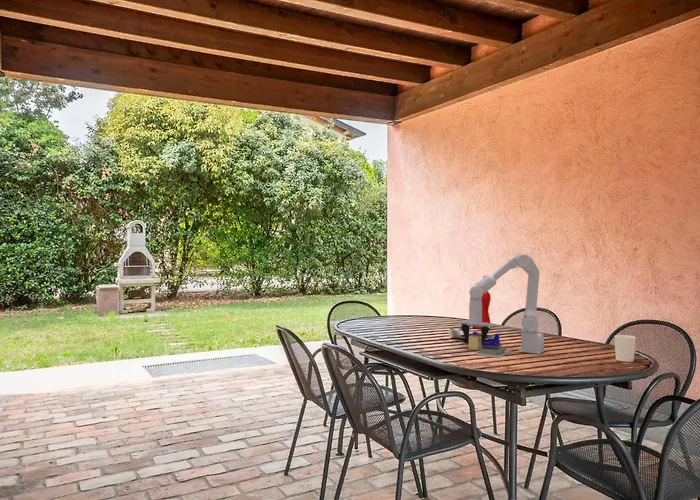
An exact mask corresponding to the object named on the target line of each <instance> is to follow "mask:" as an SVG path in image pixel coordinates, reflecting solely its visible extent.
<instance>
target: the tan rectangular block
mask: <svg viewBox="0 0 700 500" xmlns="http://www.w3.org/2000/svg"><path fill="white" fill-rule="evenodd" d="M481 339H482V335H479V334H478V335H473V334H471V335H469V341H468V350H471V349H472V350H471V351H479V348H481V347H483V346H482V343H481Z"/></svg>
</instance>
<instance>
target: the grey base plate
mask: <svg viewBox="0 0 700 500" xmlns="http://www.w3.org/2000/svg"><path fill="white" fill-rule="evenodd" d="M510 353H514V349H513V348H506V347H504V346H503V347H500V346H498V347H494V346H482V347H481V348H479V350H478V351H477V352H476V356H480V355H481V356H482V357H489V358H497V359H500V358H503V357H504V356H506V355H508V354H510Z"/></svg>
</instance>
